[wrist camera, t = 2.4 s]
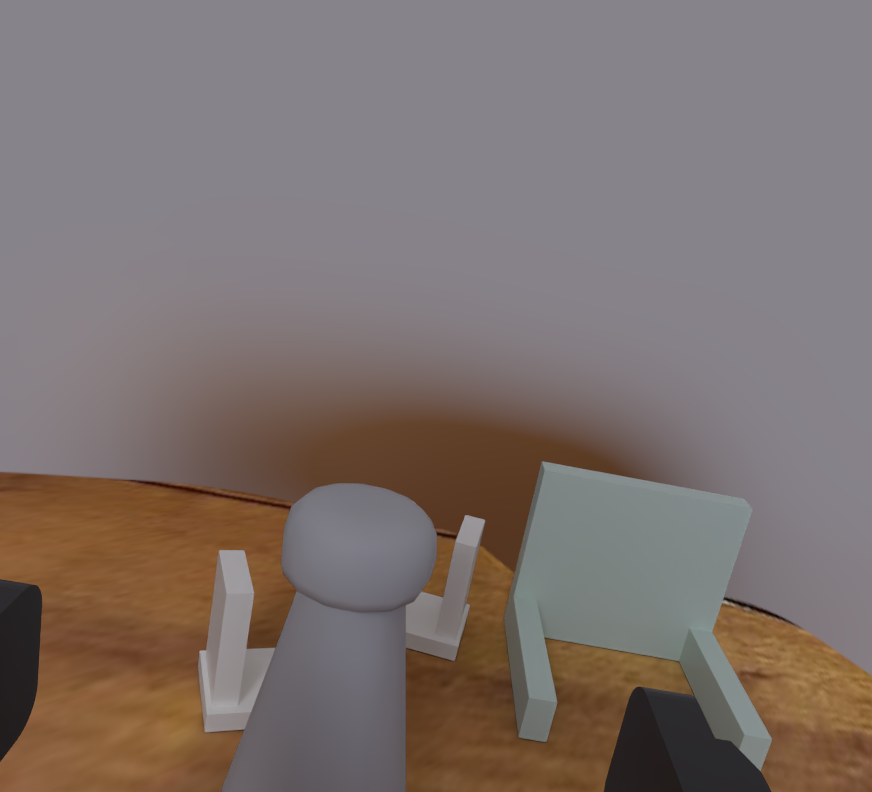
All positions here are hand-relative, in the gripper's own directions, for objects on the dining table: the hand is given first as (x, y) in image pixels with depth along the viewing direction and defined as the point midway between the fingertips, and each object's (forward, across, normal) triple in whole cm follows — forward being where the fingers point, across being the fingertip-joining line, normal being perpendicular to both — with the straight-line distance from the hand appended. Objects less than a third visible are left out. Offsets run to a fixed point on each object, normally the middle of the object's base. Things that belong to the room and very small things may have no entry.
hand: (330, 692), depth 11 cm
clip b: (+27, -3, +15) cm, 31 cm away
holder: (+24, -13, +15) cm, 31 cm away
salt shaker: (+12, 0, +15) cm, 19 cm away
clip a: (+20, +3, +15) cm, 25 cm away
